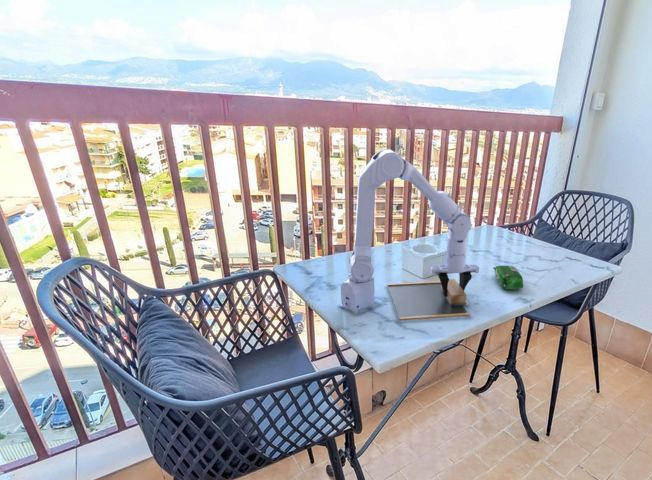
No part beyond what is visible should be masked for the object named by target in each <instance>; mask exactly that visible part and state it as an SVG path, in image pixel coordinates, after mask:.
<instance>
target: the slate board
mask: <svg viewBox="0 0 652 480" xmlns="http://www.w3.org/2000/svg"><path fill="white" fill-rule="evenodd" d="M387 287H388V289H389V293H390V295H391V298H392V299H391V300H392V301H393V304H394V307H395V310H396V314H397V316H398V319H399V321H410V320H427V319H441V318H442V319H443V318H455V317H469V316H470V315H471V314H470V313H469V312H468V311H467V310H466V309H465V307H464V305H459V306H451V305H450V304H449V302H448V301H447V299H446V297H444V295H443V293H442V291H441V282H440V280H433V281H416V282H414V281H413V282H398V283H397V282H396V283H387Z"/></svg>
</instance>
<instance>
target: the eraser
mask: <svg viewBox="0 0 652 480" xmlns="http://www.w3.org/2000/svg"><path fill="white" fill-rule="evenodd" d="M441 291H442V293H443V290H442V285H441ZM446 299H447V301H448V302H449V304H450V305H451V306H459V305H463V306H466V304H465V303H466V301H467V293H466V292H465V290H464V291H463V289H462V288H461V287H460V285H459V283H458V281H457V279H455V278H451V279H450V278H449V281H448V287H447V297H446Z"/></svg>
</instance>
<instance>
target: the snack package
mask: <svg viewBox="0 0 652 480" xmlns="http://www.w3.org/2000/svg"><path fill="white" fill-rule="evenodd" d="M493 270H494V276H495V278H496V280H497V281H498V283H499V285H500V287H502V288H503V289H504V290H520V289H523V288H524V279H523V276H522V274H521V273H520V272H519V270H518V269H517V268H516V267H515V266H514V265H496V266H495V267H493Z"/></svg>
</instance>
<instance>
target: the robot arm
mask: <svg viewBox="0 0 652 480" xmlns="http://www.w3.org/2000/svg"><path fill="white" fill-rule="evenodd" d="M397 178H399V179H400V180H401V181H407V182H410V183H411V185H413V186H414V187H415V188H416V189H417V190H418V191H419V192H420V193H421V194H422V195H423V196H424V197H425V198H426V199H427V200H428V207H429V209H430V210H431V211H432V212H433V213H435V215H436V216H437V217H438V218H440V219H441V221H442V222H443V223H445V225H446V226H447V227H448V229H447V240H446V241H447V242H446V253H445V254H446V255H445V257H446V258H445V264H440V265H435V266H430V271H429V272H430V274H431V276H436V275H437V277H438V279H439V281H440V282H441V285H442V290H443V295H444V297H447V287H448V281H449V279H450V278H449V275H448V274H450V275H451V274H459V278H458V279H459V281H458V282H459V283H458V284H459V285H460V287H461V288H462V289H463V291H464V292H465V290H466V287H467V286H468V284H469V282H470V281H471V280H472V278H473V275H472V273H475V274H479V273H480V266H479V265H478V264H466V257H467V249H468V248H467V247H468V234H469V232H470V231H471V229H472V228H473V223H472V221H471V218H470V216H469V215H468V214H467V213H465V212H464V211H463V206H461V205H458V204H457V203H456V202H455V201H454V200H453V199H452V197H453V196H452V195H451V194H450V192H445V190H444V191H443V190H436V188H434V187H433V185H432V184H431V183H430V182H429V181H428V179H426V178H425V176H424V175H423V174H422V173H421V172H420V171H419V170H418V168H417V167H416V166H414V165H413V164H412V163H410V162H409V161H407V160H406V159H404V158H403V157H402V156H401V155H400V153H397V152H395V151H394V150H393V149H390V148H384V149H381V150H380V151H378V152H376V153H375V154H373V155H372V157H371V159H370V161H369V162H368V163H367V165H366V166H365V168H364V169H363V170H362V172H361V173H360V174H359V176H358V180H357V195H356V209H355V210H356V211H355V226H354V227H355V229H354V242H353V247H352V252H351V255H350V256H349V259H348V260H349V261H348V263H349V265H350V266H349V267H350V273H349V274H348V279H346V281H344V282H343V283H341V286H340V298H341V299H340V301H341V304H339V306H340V307H341V308H343V309H345V308H346V309H347V310H350V311H352V312H354V313H355V312H358V311H361V310H364V309H367V308H371V307H373V306H374V305H375V275H374V274H375V273H374V272H375V271H374V270H375V269H374V266H373V264H372V240H373V230H374V229H373V228H374V217H375V216H374V215H375V206H376V205H375V204H376V191H377V189H378V188H379V187H381V186H382V185H383V184H384V183H386V182H389V181H393V180H395V179H397Z"/></svg>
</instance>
